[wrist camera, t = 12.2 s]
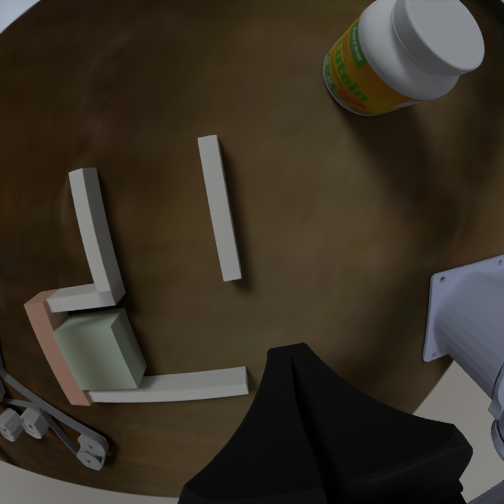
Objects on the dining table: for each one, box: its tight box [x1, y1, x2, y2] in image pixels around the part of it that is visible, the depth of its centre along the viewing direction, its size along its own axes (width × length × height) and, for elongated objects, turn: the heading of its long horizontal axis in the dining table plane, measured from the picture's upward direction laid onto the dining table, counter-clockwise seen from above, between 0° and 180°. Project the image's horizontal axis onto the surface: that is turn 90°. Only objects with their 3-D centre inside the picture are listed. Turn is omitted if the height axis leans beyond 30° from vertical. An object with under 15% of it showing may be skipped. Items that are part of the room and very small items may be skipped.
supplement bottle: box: [323, 0, 484, 116], centre depth 12 cm, size 5×5×10 cm
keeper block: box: [53, 308, 147, 390], centre depth 19 cm, size 5×5×3 cm
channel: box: [46, 135, 249, 402], centre depth 18 cm, size 14×16×2 cm
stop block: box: [24, 289, 92, 406], centre depth 19 cm, size 2×9×2 cm, turn 9°
